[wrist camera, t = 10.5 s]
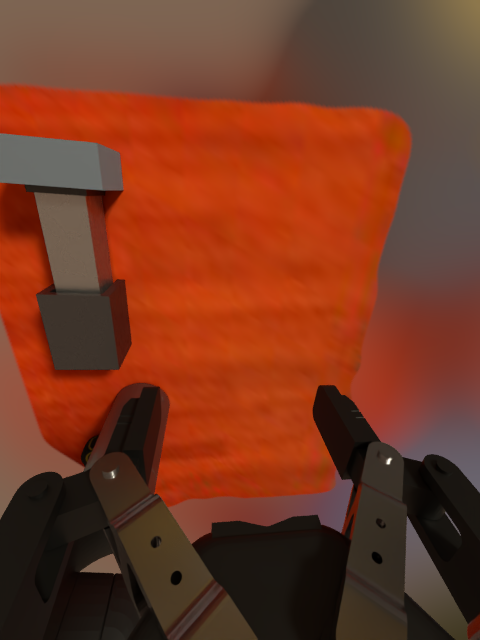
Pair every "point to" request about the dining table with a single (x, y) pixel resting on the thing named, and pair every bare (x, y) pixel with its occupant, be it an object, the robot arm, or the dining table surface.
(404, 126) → the dining table surface
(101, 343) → the sleeve
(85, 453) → the tape measure
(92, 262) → the light grey square bar
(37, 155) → the grey block
